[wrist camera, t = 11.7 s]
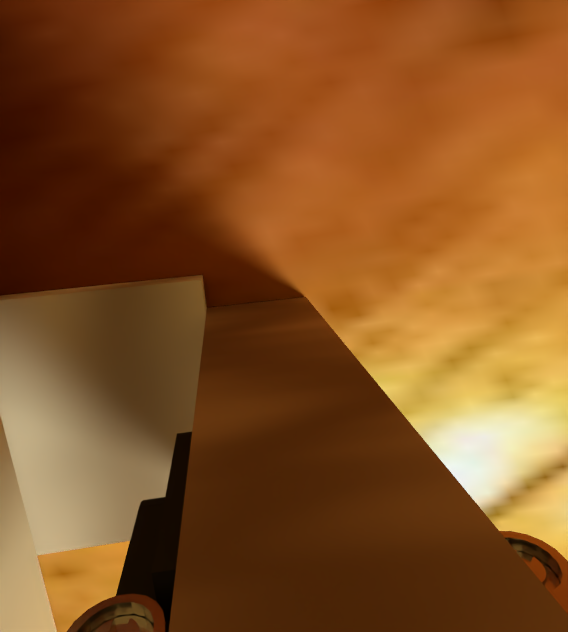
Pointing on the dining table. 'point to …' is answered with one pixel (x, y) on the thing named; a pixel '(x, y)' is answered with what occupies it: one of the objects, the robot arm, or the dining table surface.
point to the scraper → (248, 465)
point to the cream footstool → (18, 559)
